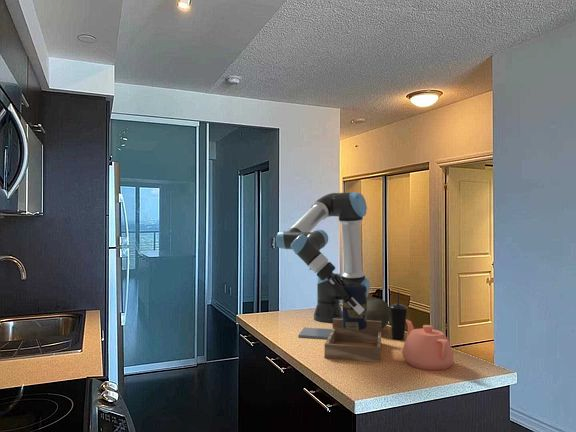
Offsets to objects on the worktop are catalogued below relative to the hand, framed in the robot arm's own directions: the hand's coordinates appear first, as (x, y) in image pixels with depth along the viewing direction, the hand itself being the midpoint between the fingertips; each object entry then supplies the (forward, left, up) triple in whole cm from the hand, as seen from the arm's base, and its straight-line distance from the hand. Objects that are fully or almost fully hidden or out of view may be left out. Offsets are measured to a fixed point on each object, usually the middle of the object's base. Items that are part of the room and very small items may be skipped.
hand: (362, 309), depth 171 cm
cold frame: (0, -3, -16) cm, 16 cm away
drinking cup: (-22, +14, -16) cm, 31 cm away
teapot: (+9, +23, -16) cm, 30 cm away
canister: (0, -3, -8) cm, 9 cm away
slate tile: (-20, -21, -16) cm, 33 cm away
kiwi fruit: (-32, +4, -16) cm, 36 cm away
